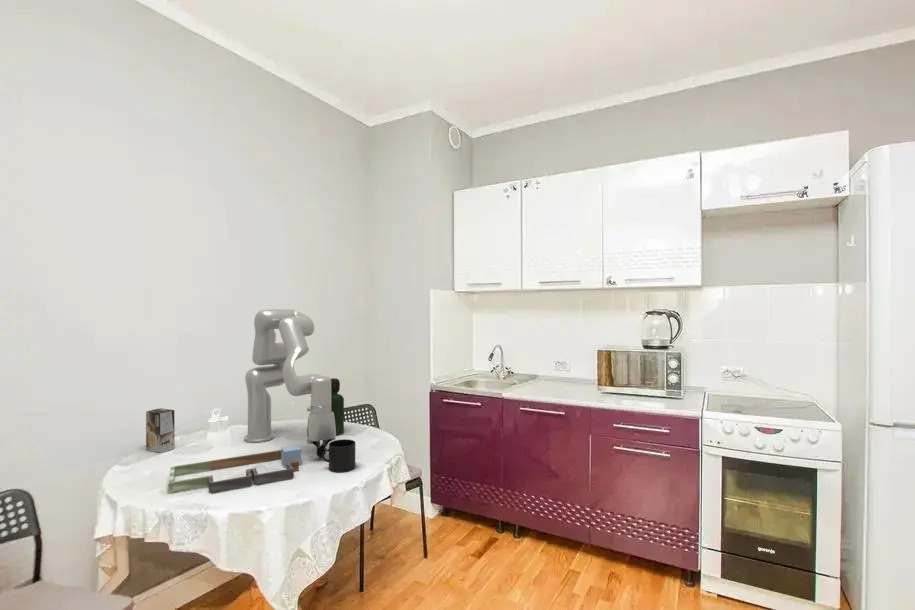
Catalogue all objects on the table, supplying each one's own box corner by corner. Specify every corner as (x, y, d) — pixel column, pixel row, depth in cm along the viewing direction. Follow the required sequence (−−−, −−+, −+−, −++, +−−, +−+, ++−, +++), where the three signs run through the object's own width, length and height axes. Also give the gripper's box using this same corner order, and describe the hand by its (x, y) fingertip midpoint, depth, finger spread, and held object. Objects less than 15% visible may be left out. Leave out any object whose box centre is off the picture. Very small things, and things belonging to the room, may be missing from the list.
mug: (324, 464, 168) (324, 439, 168) (357, 463, 170) (357, 438, 170) (318, 473, 159) (318, 447, 159) (353, 472, 160) (353, 446, 160)
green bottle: (333, 429, 216) (333, 376, 216) (348, 432, 210) (348, 378, 210) (315, 434, 208) (315, 379, 208) (330, 438, 202) (330, 381, 202)
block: (281, 463, 169) (281, 447, 170) (298, 460, 173) (298, 444, 173) (284, 468, 164) (284, 451, 164) (301, 465, 167) (301, 449, 167)
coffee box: (175, 448, 187) (175, 409, 187) (160, 453, 181) (160, 413, 181) (160, 446, 190) (160, 407, 190) (144, 450, 184) (145, 411, 184)
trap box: (170, 476, 157) (170, 466, 157) (289, 456, 176) (289, 448, 176) (167, 501, 136) (167, 491, 136) (302, 476, 156) (302, 467, 156)
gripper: (303, 413, 167) (303, 463, 167) (343, 408, 175) (343, 456, 174) (298, 409, 173) (298, 457, 173) (337, 405, 181) (337, 451, 181)
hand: (321, 457), depth 174 cm, fingers closed
